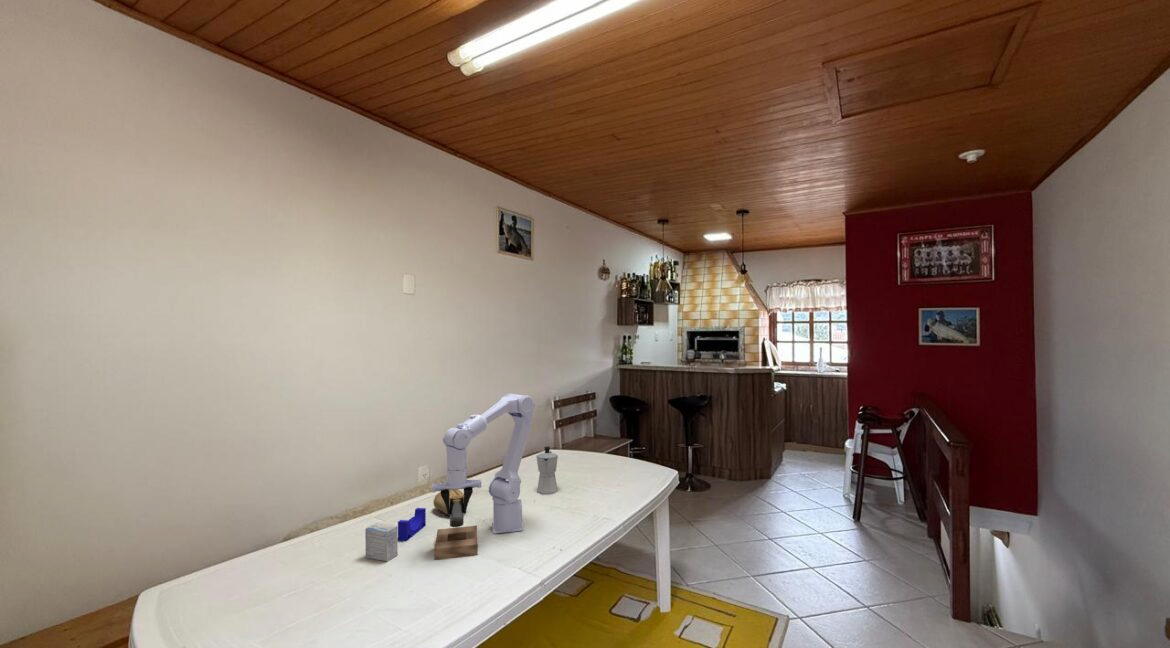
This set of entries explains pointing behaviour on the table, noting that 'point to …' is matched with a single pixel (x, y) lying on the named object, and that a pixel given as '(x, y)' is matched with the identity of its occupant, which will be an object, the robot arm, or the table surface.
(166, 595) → the table surface
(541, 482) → the coffee maker
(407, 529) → the blue cradle block
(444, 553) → the dock plate
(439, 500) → the bread roll
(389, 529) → the medicine box
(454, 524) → the peg
